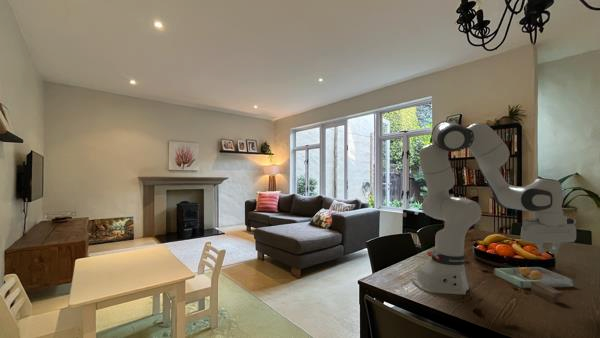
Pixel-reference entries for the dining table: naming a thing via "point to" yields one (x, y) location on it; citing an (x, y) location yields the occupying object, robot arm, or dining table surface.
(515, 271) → the grey metal shallow bin
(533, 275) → the ball
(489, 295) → the dining table surface
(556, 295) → the taupe rectangular slab
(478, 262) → the dining table surface
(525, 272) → the ball
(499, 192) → the robot arm
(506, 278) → the tray
